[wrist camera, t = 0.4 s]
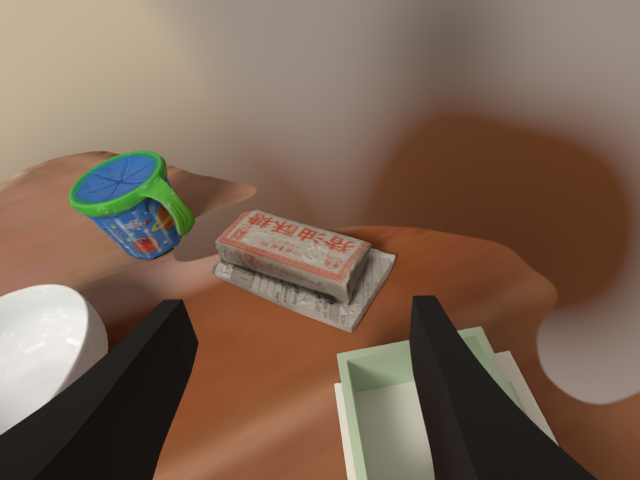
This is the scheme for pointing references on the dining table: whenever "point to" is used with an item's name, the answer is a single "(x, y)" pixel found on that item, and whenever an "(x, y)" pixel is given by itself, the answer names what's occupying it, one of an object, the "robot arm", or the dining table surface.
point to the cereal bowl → (44, 347)
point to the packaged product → (302, 267)
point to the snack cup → (133, 203)
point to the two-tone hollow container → (406, 407)
